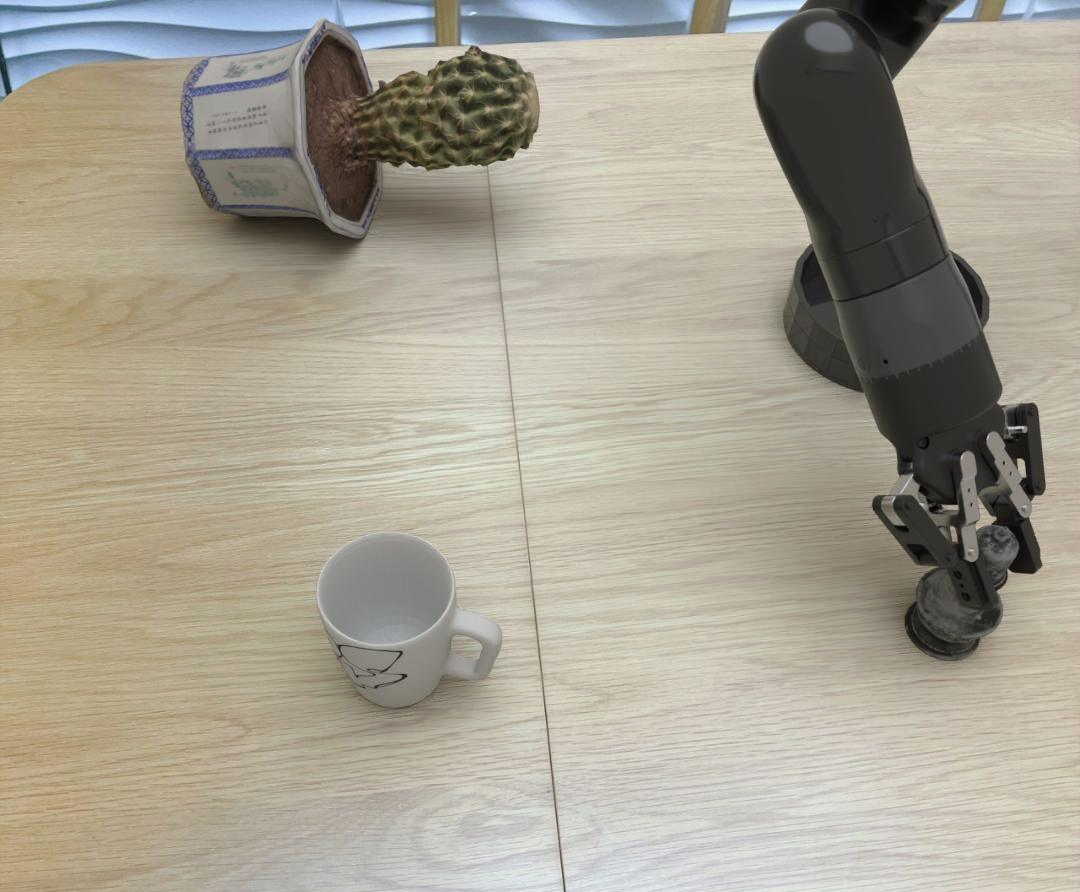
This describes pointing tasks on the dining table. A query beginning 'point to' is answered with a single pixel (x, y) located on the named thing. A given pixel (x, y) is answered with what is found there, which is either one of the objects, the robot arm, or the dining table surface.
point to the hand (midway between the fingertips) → (1004, 587)
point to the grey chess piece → (940, 614)
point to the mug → (399, 618)
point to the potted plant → (342, 125)
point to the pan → (818, 323)
